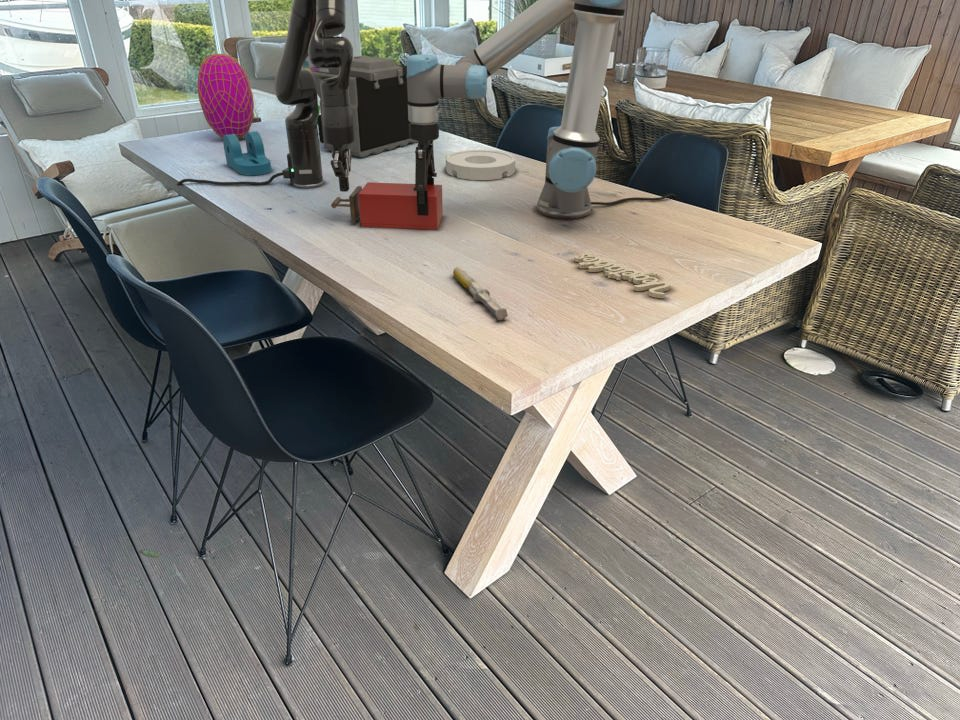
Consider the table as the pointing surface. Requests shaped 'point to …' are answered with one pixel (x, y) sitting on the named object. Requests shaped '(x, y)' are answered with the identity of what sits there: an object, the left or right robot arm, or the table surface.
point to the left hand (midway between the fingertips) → (344, 190)
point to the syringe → (479, 293)
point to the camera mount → (246, 154)
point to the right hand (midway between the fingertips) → (426, 208)
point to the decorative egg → (225, 95)
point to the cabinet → (398, 206)
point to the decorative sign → (625, 274)
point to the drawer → (353, 204)
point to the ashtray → (480, 164)
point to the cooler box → (373, 105)
